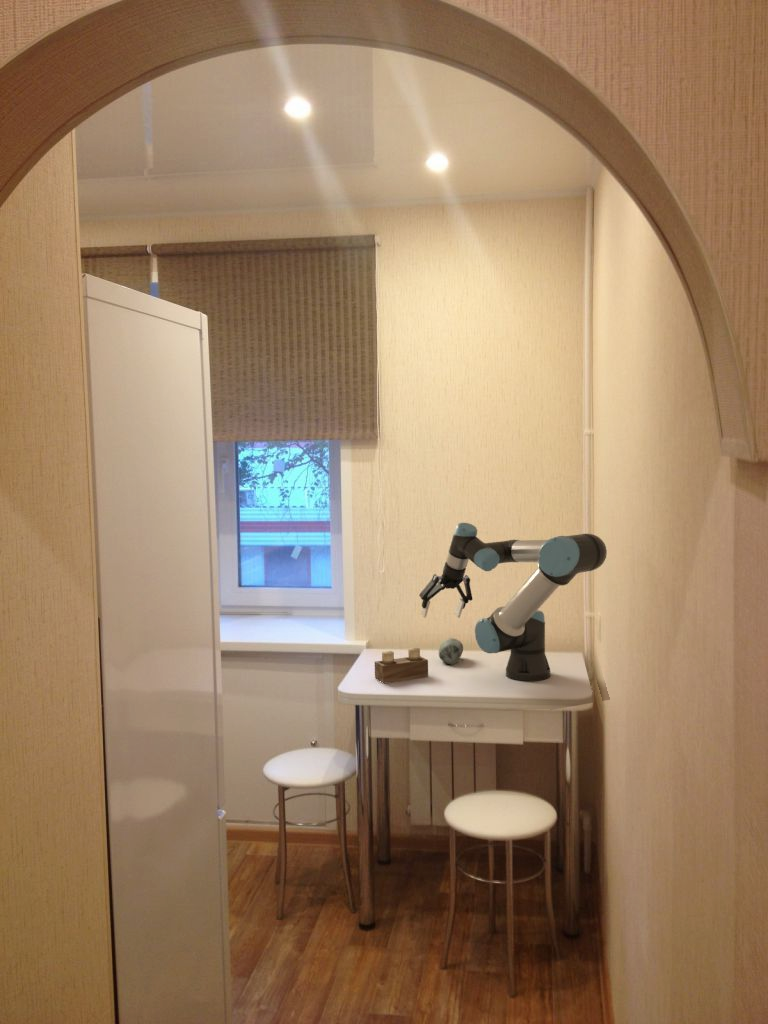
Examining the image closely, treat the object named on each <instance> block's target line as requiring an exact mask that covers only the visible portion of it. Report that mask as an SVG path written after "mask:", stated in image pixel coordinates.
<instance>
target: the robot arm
mask: <svg viewBox="0 0 768 1024" xmlns="http://www.w3.org/2000/svg"><path fill="white" fill-rule="evenodd" d="M477 535H478V529H477V527H476V526H475V525H473V524H472V523H469V522H459V523H457V525H456V527H455V530H454V532H453V533H452V539H451V542H450V546H449V549H448V553H447V556H446V561H445V563H444V566H443V569H442V574H441V575H440V576H439V575H437V574H436V573H435V574H433V575H432V578H431V580H430V581H429V582H428V584H426V586H425V587H424V588H423V590H422V591H421V592H420V593H419V597H420V599H421V600H422V602H421V607H422V609H421V615H422V617H423V618H426V617H427V616H428V611H429V608H430V604H431V599H433V598H434V597H435V596H436V595H437V594H439V593H440V592H441V591H444V590H445V589H448V590H449V589H451V590H454V589H456V590H457V592H458V593H459V596H460V597H459V600H458V604H457V605H456V608H455V612H454V614H455V615H456V617H457V618H459V619H460V618H461V615H462V612H463V610H464V609H465V607H466V605H467V604H468V603H469V601H470V602H471V601H473V594H472V589H471V584H470V583H471V578H470V577H469V575H467V574H465V573H466V570H467V567H468V564H469V561H471V562H472V563H473V564H474V565H475V566H476V567H477V568H479V569H481V570H482V571H485V572H491V571H492V570H494V569H496V568H497V566H498V565H500V564H507V563H537V568H536V569H535V571H534V572H533V573H532V574H531V575H530V576H529V577H528V578H527V580H526V581H525V582H524V583H523V584H522V585H521V586H520V588H519V589H518V590H517V592H515V594H514V595H513V596H512V597H511V598H510V600H509V601H508V602H507V603H506V604H505V605H504V606H499V607H497V608H496V609H494V611H493V612H492V613H491V615H489V616H488V617H487V618H486V617H485V618H481V619H479V620H478V621H477V622H476V624H475V626H474V635H475V636H474V637H475V641H476V643H477V645H478V647H479V648H480V649H481V651H483V652H484V653H487V654H498V653H502V652H506V651H510V654H509V658H508V661H507V665H506V667H505V676H506V677H507V678H509V679H512V680H514V681H515V680H516V681H524V682H530V681H531V682H532V681H533V682H534V681H541V680H546V679H547V680H548V679H549V678H550V677H551V668H550V665H549V661H548V658H547V655H546V621H545V613H544V612H543V611H542V610H539V609H540V608H541V607H542V605H544V603H546V601H547V600H548V599H549V598H550V597H551V596H552V595H553V594H554V592H555V591H556V590H557V589H558V588H559V587H561V586H562V587H563V586H567V585H568V584H569V583H570V582H571V581H572V580H573V579H574V578H575V577H576V576H577V574H580V573H586V572H592V571H595V570H597V569H599V568H600V567H602V565H603V564H604V562H605V561H606V558H607V554H608V552H607V551H608V550H607V546H606V544H605V542H604V541H603V539H601V538H600V537H599V536H598V535H595V534H592V533H581V534H573V535H557V536H555V537H552V538H549V539H530V540H528V539H524V540H521V539H508V540H502V541H494V542H484V541H482V540H481V539H480V538H479V537H477ZM462 582H463V585H464V589H465V593H464V591H463V589H462V586H460V584H462Z"/></svg>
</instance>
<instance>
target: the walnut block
mask: <svg viewBox="0 0 768 1024" xmlns="http://www.w3.org/2000/svg"><path fill="white" fill-rule="evenodd" d="M375 678H376V679H378V680H379V681H378V680H377V681H378V682H380V681H381V682H380V683H382V682H383V683H384V684H386V683H385V682H390V683H396V682H395V681H397V682H402V681H403V680H404V681H409V680H417V679H423V678H424V679H425V678H429V659H427V658H425V657H422V656H421V655H420V660H417V661H409V658H408V656H407V657H406V656H405V657H399V658H394V664H388V665H384V664H382V660H378V661H374V679H375ZM376 679H375V680H376ZM383 683H382V684H383Z"/></svg>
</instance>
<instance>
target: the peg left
mask: <svg viewBox="0 0 768 1024" xmlns="http://www.w3.org/2000/svg"><path fill="white" fill-rule="evenodd" d="M394 652H395V651H392V650H385V651H381V661H382V664H384V665H388V664H394V659H395V655H394V654H395V653H394Z"/></svg>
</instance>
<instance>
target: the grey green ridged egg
mask: <svg viewBox="0 0 768 1024" xmlns="http://www.w3.org/2000/svg"><path fill="white" fill-rule="evenodd" d="M463 651H464V644H463V643H462V642H461V641H460V640H459V639H457V638H453V637H452V638H451V637H450V638H447V639H444V641H443V642H441V644H440V646H439V648H438V657H439V659H440V661H442V662H444V663H446V664H447V665H455V664H457V663H458V662H459V661H460V659H461V657H462V655H463Z"/></svg>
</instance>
